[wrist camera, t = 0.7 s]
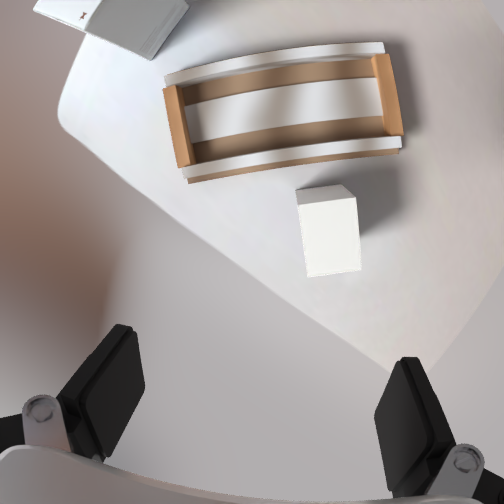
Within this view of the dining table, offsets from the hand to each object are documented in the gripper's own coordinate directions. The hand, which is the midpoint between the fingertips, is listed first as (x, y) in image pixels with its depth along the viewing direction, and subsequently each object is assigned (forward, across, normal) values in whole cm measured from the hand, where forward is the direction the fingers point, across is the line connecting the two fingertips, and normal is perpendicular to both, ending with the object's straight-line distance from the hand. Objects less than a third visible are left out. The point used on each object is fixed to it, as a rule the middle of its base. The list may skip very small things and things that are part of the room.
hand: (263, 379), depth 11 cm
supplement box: (+23, +16, -20) cm, 34 cm away
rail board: (+23, +1, -11) cm, 25 cm away
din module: (+23, -4, 0) cm, 23 cm away
